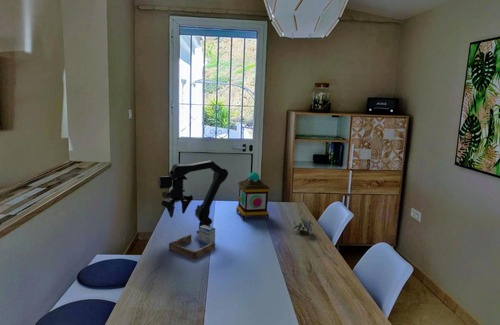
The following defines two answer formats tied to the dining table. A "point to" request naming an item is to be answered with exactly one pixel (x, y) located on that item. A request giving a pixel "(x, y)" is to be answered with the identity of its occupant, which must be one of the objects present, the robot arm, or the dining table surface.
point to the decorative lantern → (253, 197)
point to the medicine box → (206, 234)
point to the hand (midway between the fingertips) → (177, 215)
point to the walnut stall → (192, 254)
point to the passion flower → (304, 226)
